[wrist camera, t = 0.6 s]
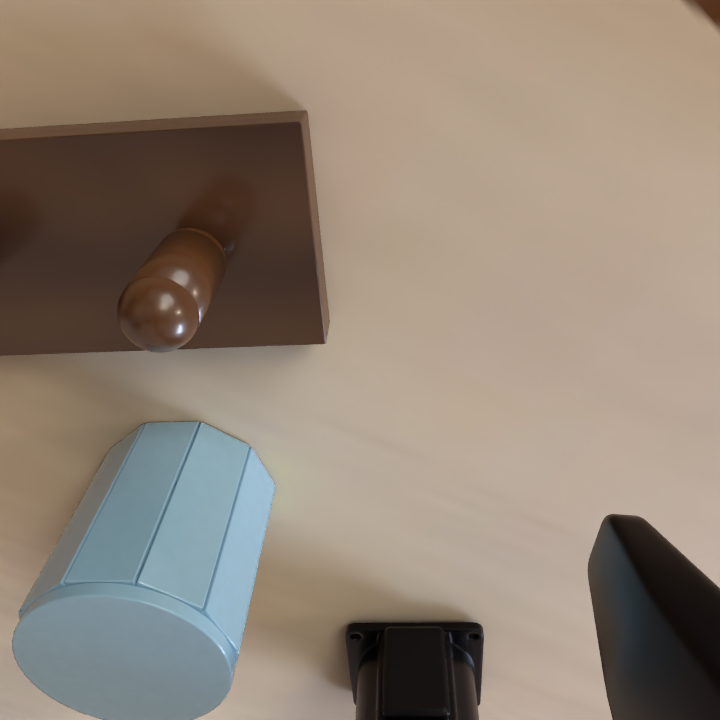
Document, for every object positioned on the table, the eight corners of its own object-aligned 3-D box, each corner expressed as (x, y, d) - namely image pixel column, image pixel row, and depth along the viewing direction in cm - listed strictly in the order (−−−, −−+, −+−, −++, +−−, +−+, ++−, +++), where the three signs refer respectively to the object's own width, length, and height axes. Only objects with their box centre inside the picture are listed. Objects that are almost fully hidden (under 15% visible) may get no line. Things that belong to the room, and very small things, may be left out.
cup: (285, 542, 29) (252, 727, 22) (128, 544, 29) (48, 725, 22) (262, 419, 25) (214, 594, 18) (83, 423, 25) (-29, 597, 19)
